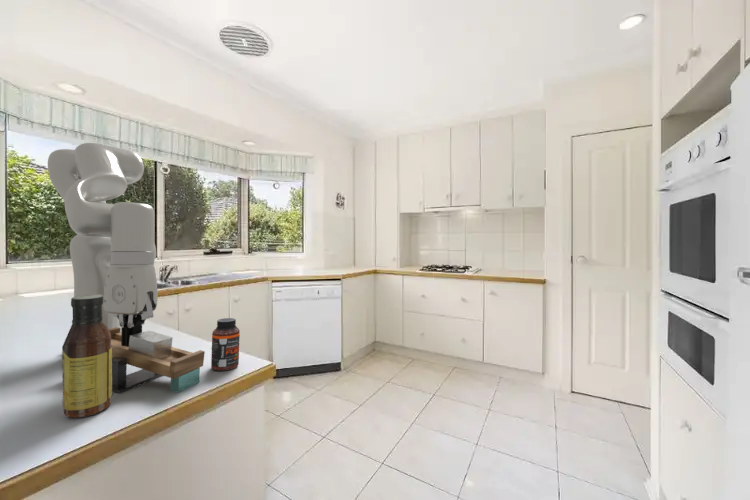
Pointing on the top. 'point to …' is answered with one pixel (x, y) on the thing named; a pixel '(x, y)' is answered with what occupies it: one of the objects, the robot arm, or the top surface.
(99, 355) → the sauce bottle
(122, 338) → the robot arm
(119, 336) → the beam
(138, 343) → the rider
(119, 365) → the fulcrum
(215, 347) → the supplement bottle
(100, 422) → the top surface
